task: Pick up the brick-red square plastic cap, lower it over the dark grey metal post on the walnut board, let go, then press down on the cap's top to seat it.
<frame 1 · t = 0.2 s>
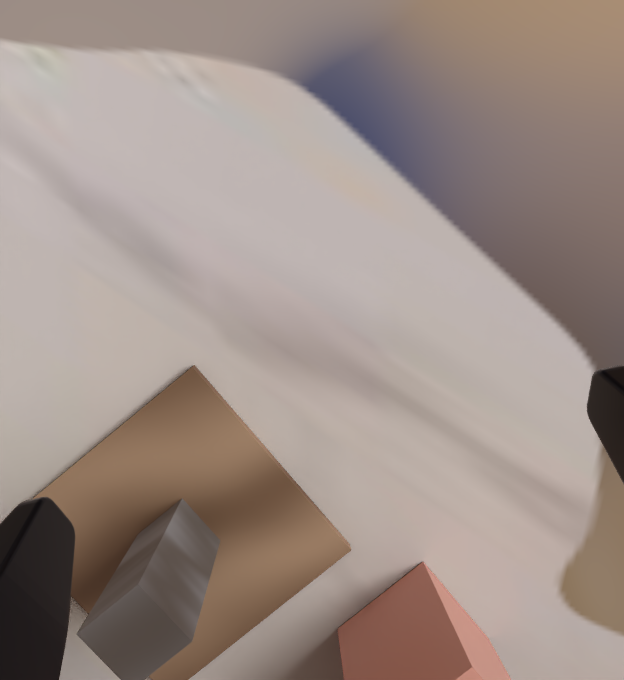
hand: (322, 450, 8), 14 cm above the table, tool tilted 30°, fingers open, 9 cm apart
post: (181, 531, 23), on the table
cap: (413, 634, 24), on the table
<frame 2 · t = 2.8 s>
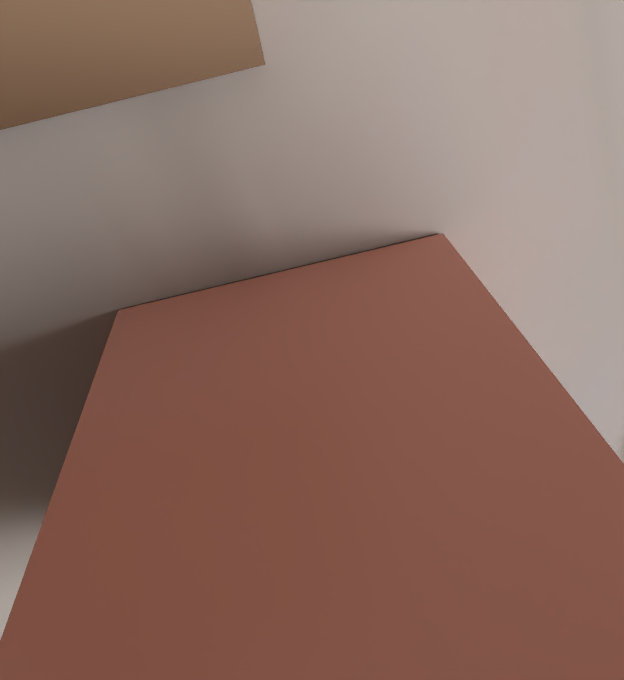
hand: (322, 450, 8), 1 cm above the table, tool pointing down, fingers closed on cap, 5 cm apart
cap: (312, 392, 9), on the table, touching gripper
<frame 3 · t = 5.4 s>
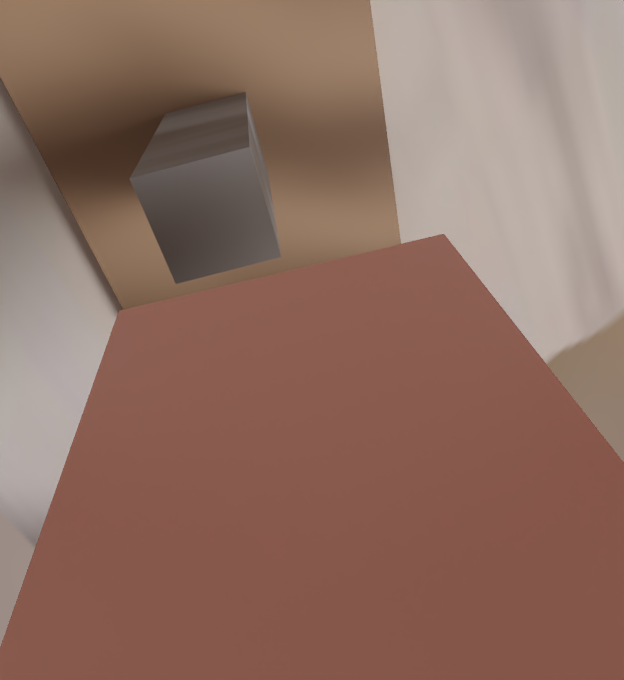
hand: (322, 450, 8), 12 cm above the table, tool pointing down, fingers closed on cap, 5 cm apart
post: (219, 141, 17), on the table
cap: (312, 392, 9), point 11 cm above the table, touching gripper
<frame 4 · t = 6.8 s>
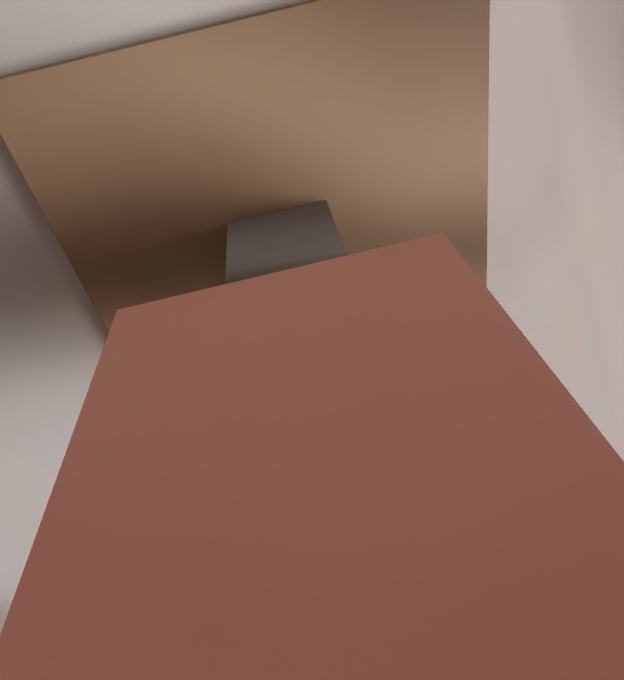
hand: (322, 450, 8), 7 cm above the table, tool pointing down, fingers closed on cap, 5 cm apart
post: (286, 248, 14), on the table
cap: (311, 392, 9), point 6 cm above the table, touching gripper
when the fingers open (4 cm above the table, at t = 8.0 s): cap drops 1 cm, resting on post.
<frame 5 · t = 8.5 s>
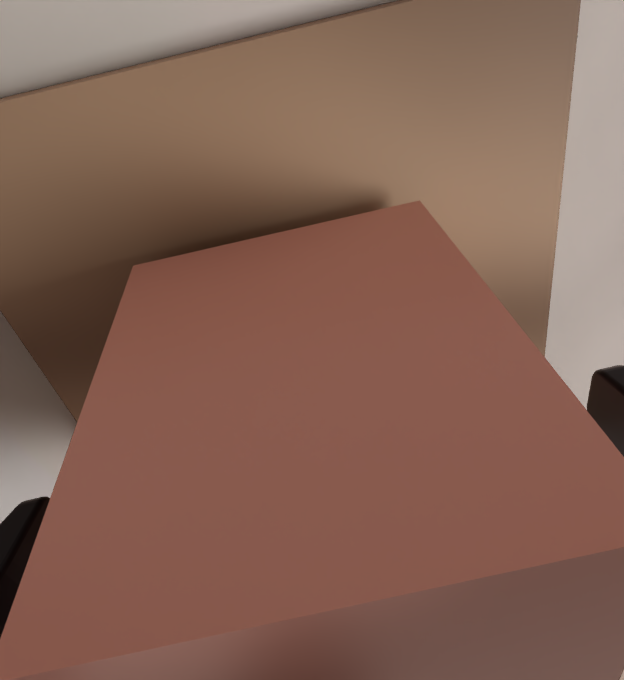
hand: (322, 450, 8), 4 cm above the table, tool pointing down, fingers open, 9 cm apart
post: (299, 320, 11), on the table
cap: (304, 346, 11), point 1 cm above the table, touching post
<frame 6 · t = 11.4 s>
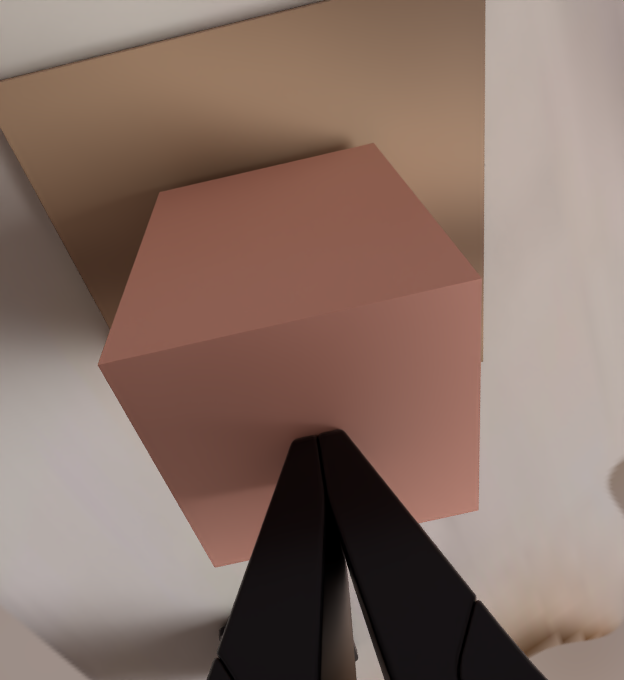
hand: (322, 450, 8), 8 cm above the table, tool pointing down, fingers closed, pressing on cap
post: (286, 247, 14), on the table
cap: (289, 263, 14), point 1 cm above the table, touching gripper, post
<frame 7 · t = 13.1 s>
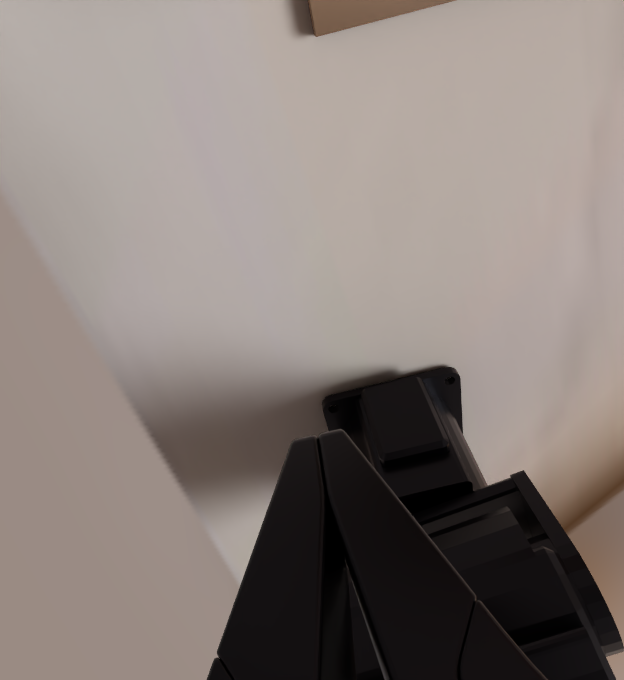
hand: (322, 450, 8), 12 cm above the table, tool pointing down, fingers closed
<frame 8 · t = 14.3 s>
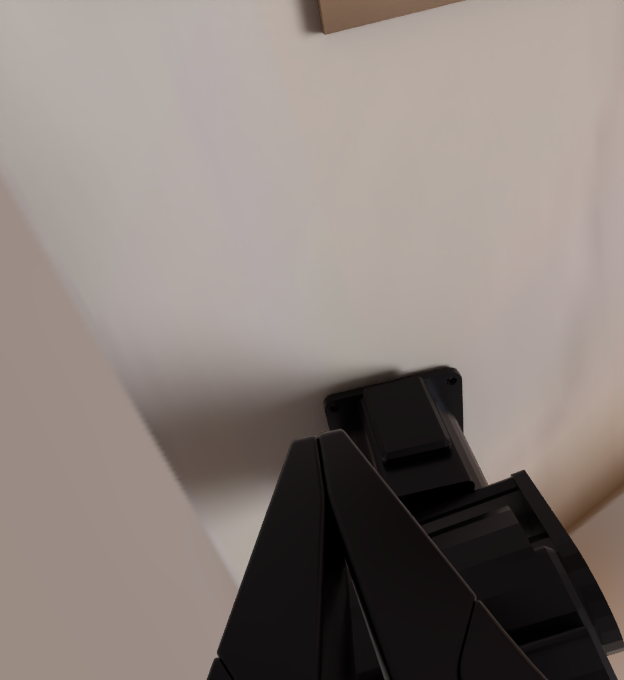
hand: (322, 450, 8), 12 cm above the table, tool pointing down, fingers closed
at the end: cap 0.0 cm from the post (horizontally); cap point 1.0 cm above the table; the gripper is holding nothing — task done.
